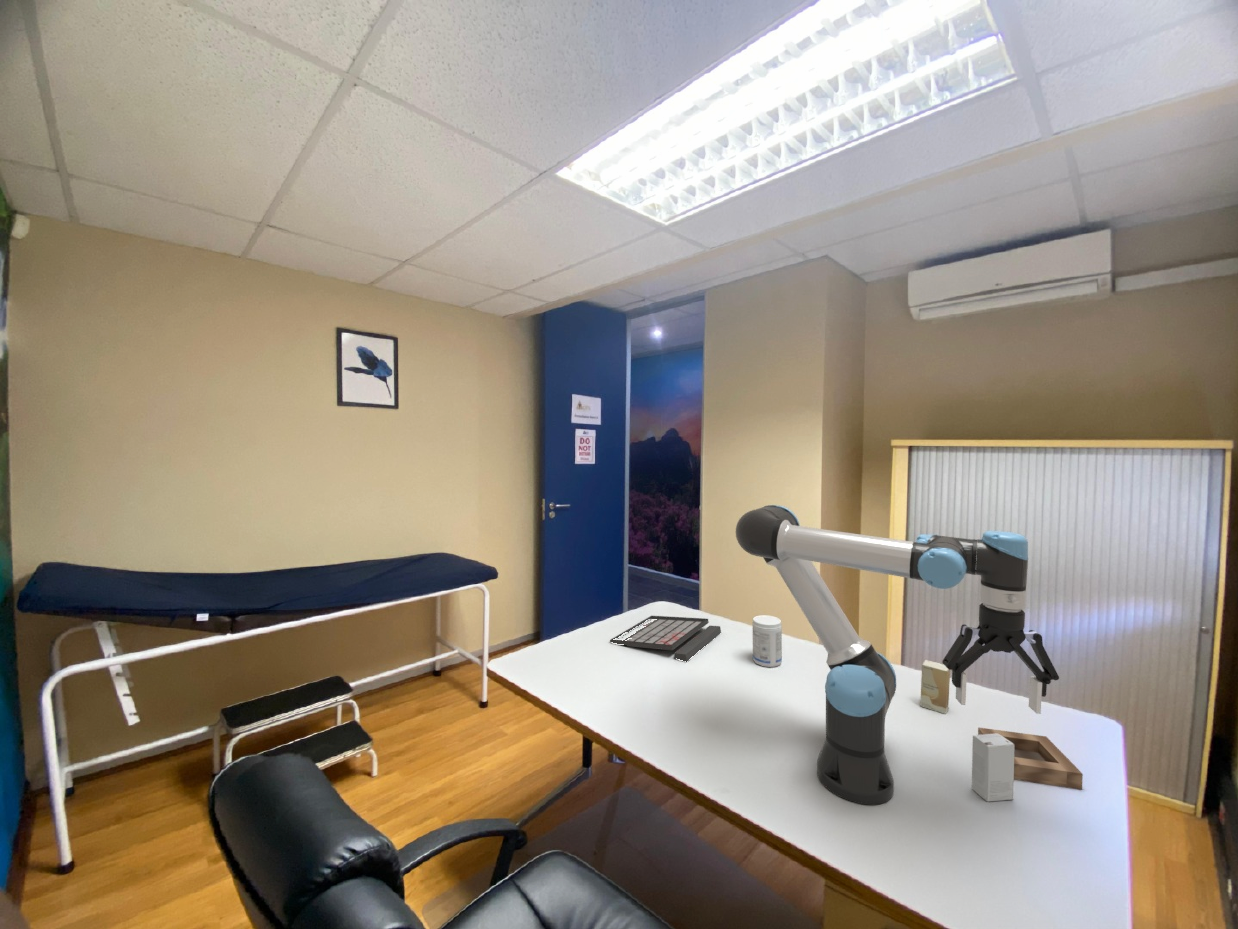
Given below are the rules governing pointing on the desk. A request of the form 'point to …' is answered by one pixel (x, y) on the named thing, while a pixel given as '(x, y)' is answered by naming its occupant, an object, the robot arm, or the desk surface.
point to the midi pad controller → (672, 635)
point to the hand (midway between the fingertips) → (996, 706)
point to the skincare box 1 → (935, 686)
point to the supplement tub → (767, 641)
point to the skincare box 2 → (993, 767)
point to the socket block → (1040, 760)
